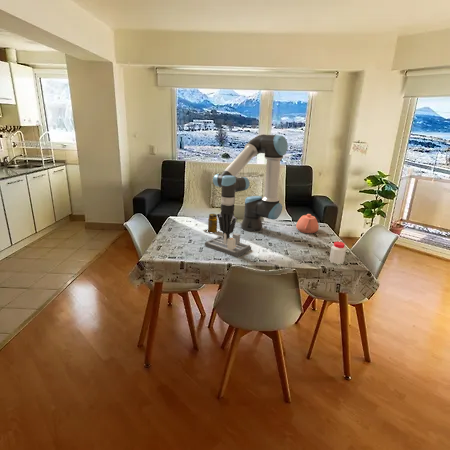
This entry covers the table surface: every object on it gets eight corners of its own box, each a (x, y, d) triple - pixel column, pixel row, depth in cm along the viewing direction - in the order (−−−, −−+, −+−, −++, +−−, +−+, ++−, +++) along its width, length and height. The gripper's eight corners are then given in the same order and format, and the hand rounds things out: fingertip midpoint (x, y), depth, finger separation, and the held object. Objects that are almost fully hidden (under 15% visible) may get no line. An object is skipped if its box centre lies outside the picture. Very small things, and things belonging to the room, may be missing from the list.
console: (204, 245, 179) (205, 232, 177) (219, 239, 190) (219, 227, 187) (237, 257, 165) (238, 243, 163) (251, 249, 176) (252, 236, 173)
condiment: (219, 232, 204) (219, 215, 200) (208, 234, 199) (209, 216, 195) (213, 228, 209) (214, 212, 206) (203, 230, 205) (203, 214, 201)
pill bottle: (328, 263, 163) (331, 244, 159) (329, 257, 170) (332, 239, 166) (343, 265, 160) (347, 247, 157) (343, 260, 167) (347, 242, 164)
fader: (227, 248, 171) (227, 238, 169) (230, 247, 173) (230, 237, 171) (232, 250, 169) (232, 240, 167) (235, 248, 171) (235, 238, 169)
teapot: (319, 237, 201) (322, 220, 197) (295, 235, 204) (297, 217, 200) (316, 227, 221) (319, 211, 217) (295, 225, 224) (297, 209, 220)
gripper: (214, 202, 166) (213, 242, 173) (233, 207, 158) (231, 248, 166) (222, 200, 172) (221, 238, 179) (241, 204, 164) (238, 244, 172)
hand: (225, 243), depth 172 cm, fingers closed
